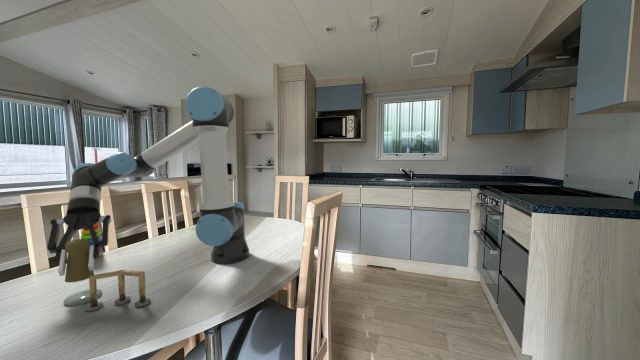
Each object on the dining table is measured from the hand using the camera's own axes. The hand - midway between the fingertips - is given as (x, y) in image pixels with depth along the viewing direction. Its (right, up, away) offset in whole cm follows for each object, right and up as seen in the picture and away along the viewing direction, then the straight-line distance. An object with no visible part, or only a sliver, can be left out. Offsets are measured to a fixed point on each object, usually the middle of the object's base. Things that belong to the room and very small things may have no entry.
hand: (76, 270), depth 67 cm
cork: (-2, -3, +3) cm, 5 cm away
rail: (+12, -10, 0) cm, 15 cm away
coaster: (-2, -9, +4) cm, 10 cm away
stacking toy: (-28, -7, +34) cm, 45 cm away
